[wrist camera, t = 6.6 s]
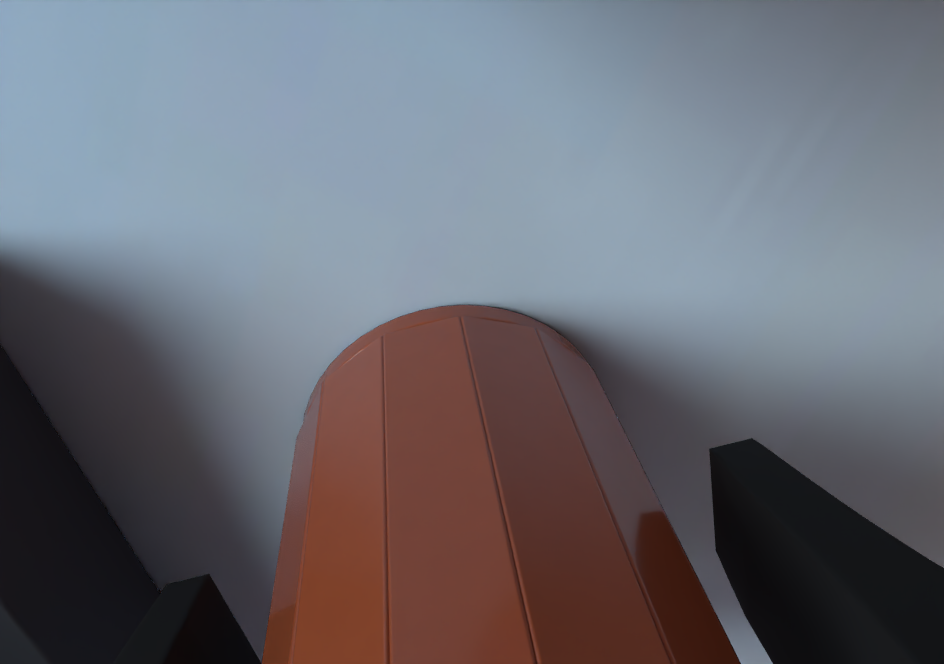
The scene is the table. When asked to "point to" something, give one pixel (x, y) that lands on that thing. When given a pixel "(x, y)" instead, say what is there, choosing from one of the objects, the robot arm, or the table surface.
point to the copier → (58, 548)
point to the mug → (477, 511)
